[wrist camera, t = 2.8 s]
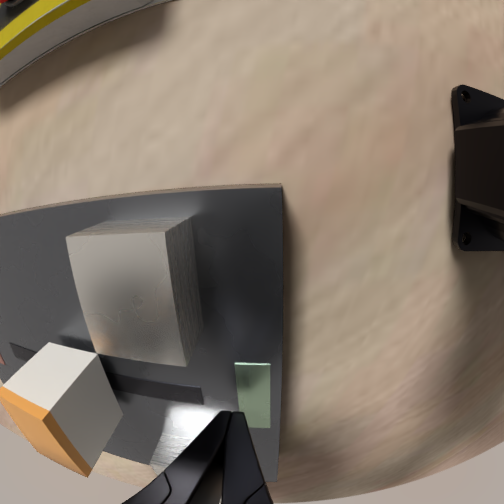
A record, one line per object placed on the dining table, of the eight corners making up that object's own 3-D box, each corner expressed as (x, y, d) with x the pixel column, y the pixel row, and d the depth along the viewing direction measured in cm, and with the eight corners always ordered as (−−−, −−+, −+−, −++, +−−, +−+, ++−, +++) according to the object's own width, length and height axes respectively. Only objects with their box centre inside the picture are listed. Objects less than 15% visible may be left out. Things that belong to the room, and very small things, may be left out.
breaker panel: (281, 183, 9) (282, 193, 5) (278, 455, 14) (275, 510, 10) (-30, 221, 11) (-72, 236, 7) (33, 399, 16) (9, 426, 12)
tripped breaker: (97, 353, 9) (41, 420, 5) (123, 414, 10) (87, 477, 7) (49, 342, 10) (-5, 393, 6) (75, 400, 11) (37, 451, 7)
